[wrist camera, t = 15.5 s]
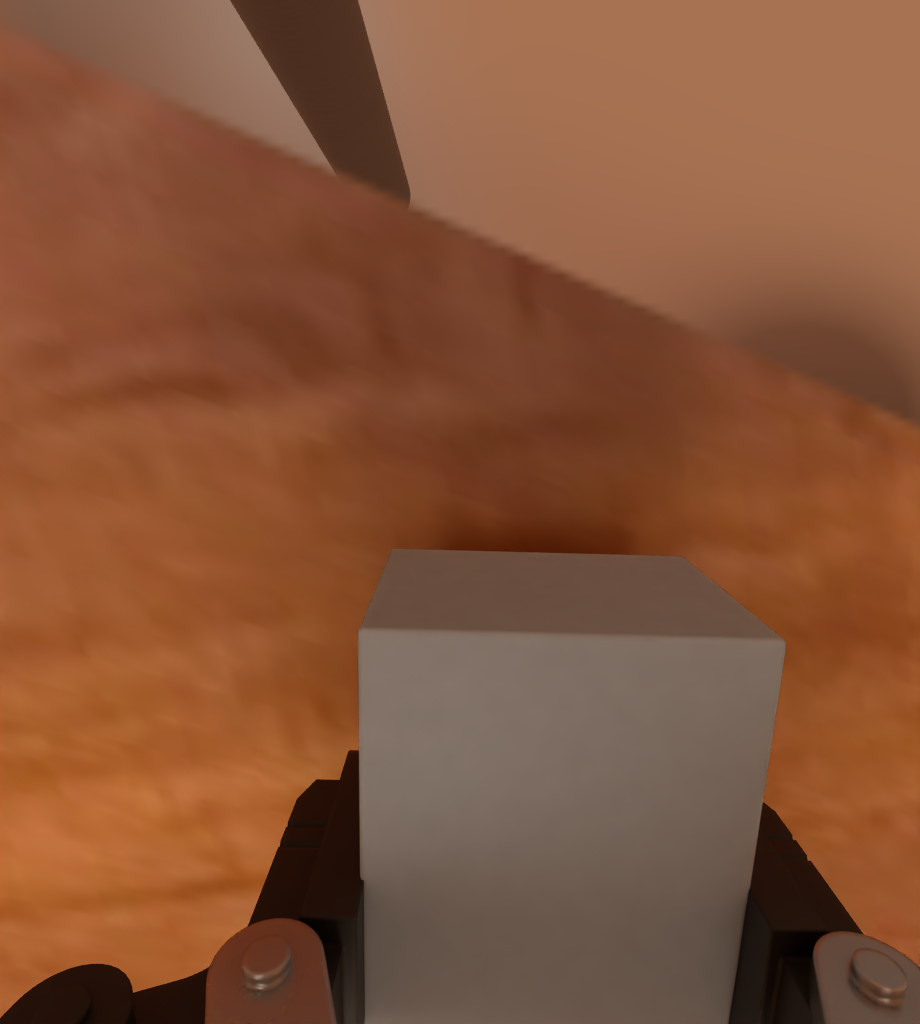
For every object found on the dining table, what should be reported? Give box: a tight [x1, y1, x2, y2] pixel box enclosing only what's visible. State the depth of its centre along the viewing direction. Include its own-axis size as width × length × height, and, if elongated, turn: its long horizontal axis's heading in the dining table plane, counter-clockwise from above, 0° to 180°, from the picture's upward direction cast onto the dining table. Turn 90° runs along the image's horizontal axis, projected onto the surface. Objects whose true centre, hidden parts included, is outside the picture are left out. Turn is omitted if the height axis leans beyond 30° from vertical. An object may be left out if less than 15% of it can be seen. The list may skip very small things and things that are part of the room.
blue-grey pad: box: [358, 549, 786, 1024], centre depth 10 cm, size 9×5×4 cm, turn 178°
